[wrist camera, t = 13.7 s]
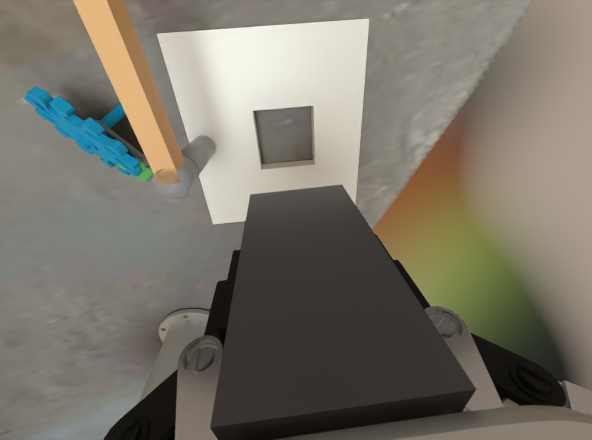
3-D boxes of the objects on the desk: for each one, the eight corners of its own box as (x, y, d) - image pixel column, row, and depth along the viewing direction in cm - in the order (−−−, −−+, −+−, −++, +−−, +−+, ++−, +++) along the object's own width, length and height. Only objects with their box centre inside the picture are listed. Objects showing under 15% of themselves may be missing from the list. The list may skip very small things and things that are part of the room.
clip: (116, -58, 13) (79, -90, 11) (202, 181, 21) (192, 196, 18) (73, -52, 13) (25, -82, 11) (174, 185, 21) (160, 201, 18)
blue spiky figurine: (25, 117, 24) (5, 78, 17) (72, 81, 26) (72, 32, 19) (133, 189, 30) (153, 184, 23) (163, 155, 32) (190, 141, 25)
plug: (340, 255, 16) (423, 470, 7) (263, 264, 15) (255, 496, 7) (342, 184, 13) (476, 389, 5) (250, 194, 13) (209, 427, 4)
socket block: (350, 203, 34) (374, 241, 26) (216, 216, 33) (199, 260, 25) (362, 22, 24) (407, -3, 16) (165, 36, 23) (109, 17, 15)
